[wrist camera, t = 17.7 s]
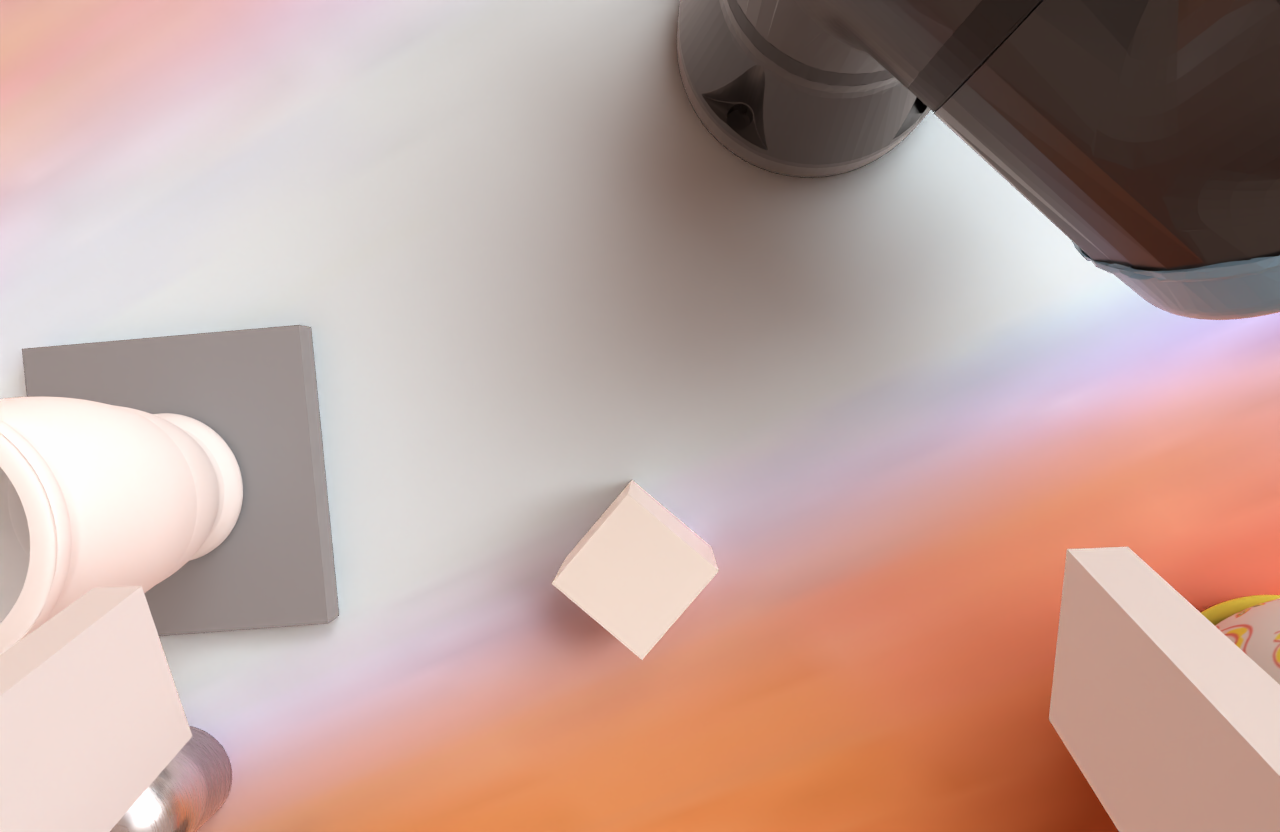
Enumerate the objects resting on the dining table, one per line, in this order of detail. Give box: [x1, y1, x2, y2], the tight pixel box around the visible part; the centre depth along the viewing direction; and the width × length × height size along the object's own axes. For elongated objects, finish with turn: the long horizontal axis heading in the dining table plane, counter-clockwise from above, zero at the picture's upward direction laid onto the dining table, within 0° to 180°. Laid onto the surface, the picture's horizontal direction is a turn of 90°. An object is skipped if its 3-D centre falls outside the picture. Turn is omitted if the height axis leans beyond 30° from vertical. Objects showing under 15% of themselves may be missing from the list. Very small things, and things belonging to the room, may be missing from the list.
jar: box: [0, 397, 243, 655], centre depth 36 cm, size 11×10×15 cm
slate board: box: [22, 325, 339, 636], centre depth 44 cm, size 16×17×2 cm
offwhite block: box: [552, 480, 719, 660], centre depth 41 cm, size 6×6×6 cm
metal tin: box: [110, 726, 232, 832], centre depth 42 cm, size 6×6×7 cm
